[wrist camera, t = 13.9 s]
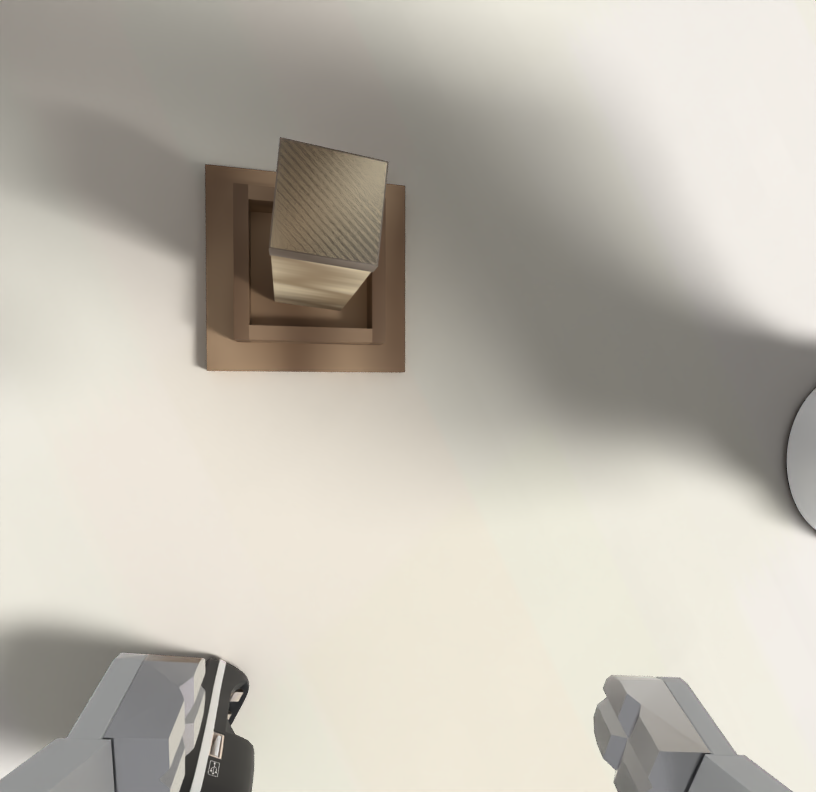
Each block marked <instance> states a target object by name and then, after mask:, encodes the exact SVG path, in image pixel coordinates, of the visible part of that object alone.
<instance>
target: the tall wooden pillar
mask: <svg viewBox="0 0 816 792" xmlns="http://www.w3.org/2000/svg"><path fill="white" fill-rule="evenodd" d="M387 172H388V161H383V160H379V159H374V158H370V157H365V156H361V155H357V154H352V153H348V152H343V151H339V150H334V149H330V148H325V147H321V146H317V145H312V144H308V143H303V142H299V141H294V140H290V139H285V138H281V137H280V143H279V152H278V162H277V172H276V182H275V192H274V201H273V211H272V221H271V231H270V241H269V255H271V262H272V274H273V286H274V298H275V302H280V303H287V304H294V305H301V306H308V307H315V308H322V309H329V310H336V311H341V310H342V309H343V307H344V306H345V305H346V304H347V302H348V301H349V300H350V299H351V297H352V296H353V295H354V293H355V292H356V291H357V290H358V288H359V287H360V286H361V284H362V283H363V282H364V281H365V279H366V278H367V277H368V276H369V274H370V273H371V272H374V271H375V269H376V268H377V267H378V261H379V251H380V241H381V231H382V221H383V211H384V202H385V192H386V182H387Z"/></svg>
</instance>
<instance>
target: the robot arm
mask: <svg viewBox="0 0 816 792" xmlns="http://www.w3.org/2000/svg"><path fill="white" fill-rule="evenodd" d="M787 474H788V481H789V486H790V490H791V493H792V496H793V499H794V501H795V504H796V506H797V508H798V510H799V511H800V513H801V514H802V516H803V517H804V519H805V520H806V521H807V522H808V523H809V524H810V525H811V526H812V527H813V528H814V529H815V530H816V388H815V389H814V390H813V391H812V393H811V394H810V395H809V396H808V397H807V399H806V400H805V401H804V403H803V404H802V406H801V408H800V410H799V411H798V414H797V416H796V418H795V420H794V423H793V426H792V429H791V433H790V437H789V442H788V449H787ZM204 675H205V659H204V658H197V657H182V656H168V655H154V654H134V653H120V654H119V655H118V656H117V657H116V658H115V659H114V660H113V661H112V663H111V664H110V666H109V668H108V669H107V671H106V673H105V674H104V676H103V678H102V679H101V681H100V683H99V684H98V686H97V688H96V689H95V691H94V693H93V694H92V696H91V698H90V699H89V701H88V703H87V704H86V706H85V708H84V709H83V711H82V713H81V714H80V716H79V718H78V719H77V721H76V723H75V724H74V726H73V728H72V729H71V731H70V733H69V734H68V736H67V738H56V739H55V740H54V741H52V742H51V743H50V744H48V745H47V746H46V747H44V748H43V749H42V750H40V751H39V752H37V753H36V754H35V755H33V756H32V757H31V758H29V759H28V760H27V761H25V762H24V763H22V764H21V765H20V766H18V767H17V768H16V769H14V770H13V771H12V772H10V773H9V774H8V775H6V776H5V777H3V778H2V779H1V780H0V792H179V790H180V787H181V785H182V782H183V779H184V776H185V756H186V755H187V754H188V753H190V752H191V751H192V750H193V749H194V746H195V743H196V740H197V737H198V734H199V730H200V726H201V722H202V718H203V713H204V705H205V690H204V689H203V687H202V686H201V684H202V681H203V678H204ZM603 690H604V692H605V694H606V696H607V697H606V698H605V699H604V700H603V701H601V702H600V703H599V704H598V705H597V707H596V711H595V714H594V733H595V737H596V741H597V745H598V747H599V750H600V752H601V754H602V757H603V758H604V759H605V760H606V761H607V762H608V763H609V764H610V765H611V766H612V767H613V768H614V769H615V770H616V771H615V777H614V784H615V786H616V788H617V791H618V792H793V791H791V790H790V789H789V788H787V787H786V786H785V785H783V784H782V783H781V782H779V781H778V780H777V779H775V778H774V777H773V776H771V775H770V774H769V773H767V772H766V771H765V770H764V769H762V768H761V767H760V766H758V765H757V764H756V763H754V762H753V761H752V760H750V759H749V758H748V757H746V756H745V755H737V753H736V752H735V751H734V749H733V748H732V746H731V745H730V743H729V742H728V741H727V739H726V738H725V736H724V735H723V734H722V732H721V731H720V729H719V728H718V726H717V725H716V724H715V722H714V721H713V719H712V718H711V716H710V715H709V714H708V712H707V711H706V709H705V708H704V707H703V705H702V704H701V702H700V701H699V699H698V698H697V697H696V695H695V694H694V692H693V691H692V690H691V688H690V687H689V685H688V684H687V683H686V682H685V681H684V680H682V679H681V678H676V677H653V676H625V675H611V676H610V677H608V678H607V679H606V681H605V684H604V687H603Z"/></svg>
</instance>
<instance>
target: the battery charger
mask: <svg viewBox="0 0 816 792" xmlns="http://www.w3.org/2000/svg"><path fill="white" fill-rule="evenodd" d="M201 686H202V687H203V689H204V690H205V705H204V713H203V718H202V722H201V726H200V730H199V734H198V737H197V740H196V743H195V746H194V749H193V750H192V751H191V752H190V753H188V754H187V755H186V756H185V776H184V779H183V782H182V785H181V787H180V790H179V792H252V783H253V774H254V749H253V745H252V744H251V743H250V742H249V741H248V740H246V739H244V738H242V737H240V736H238V735H235V733H234V731H233V729H232V728H231V724H232V722H233V720H234V719H235V717H236V715H237V713H238V711H239V709H240V708H241V706H242V704H243V702H244V700H245V698H246V695H247V693H248V689H249V682H248V678H247V676H246V675H245V674H244V673H243V672H242V671H240V670H239V669H237V668H236V667H234V666H232V665H229V664H226V661H223V660H221V659H220V660H216V659H209V660H208V661H207V662H206V664H205V675H204V678H203V681H202V684H201Z"/></svg>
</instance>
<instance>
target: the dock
mask: <svg viewBox="0 0 816 792" xmlns="http://www.w3.org/2000/svg"><path fill="white" fill-rule="evenodd" d="M275 182H276V172H272V171H263V170H254V169H244V168H235V167H226V166H216V165H207V164H205V188H206V323H207V371H292V372H405V186H403V185H393V184H386V192H385V202H384V211H383V221H382V231H381V241H380V251H379V261H378V267H377V268H376V269H375V271H374V272H371V273H370V274H369V276H368V277H367V278H366V279H365V281H364V282H363V283H362V284H361V286H360V287H359V288H358V290H357V291H356V292H355V293H354V295H353V296H352V297H351V299H350V300H349V301H348V302H347V304H346V305H345V306H344V307H343V309H342V310H341V311H336V310H329V309H322V308H315V307H308V306H301V305H294V304H287V303H280V302H275V298H274V286H273V274H272V262H271V255H269V241H270V231H271V221H272V211H273V201H274V192H275Z"/></svg>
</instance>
